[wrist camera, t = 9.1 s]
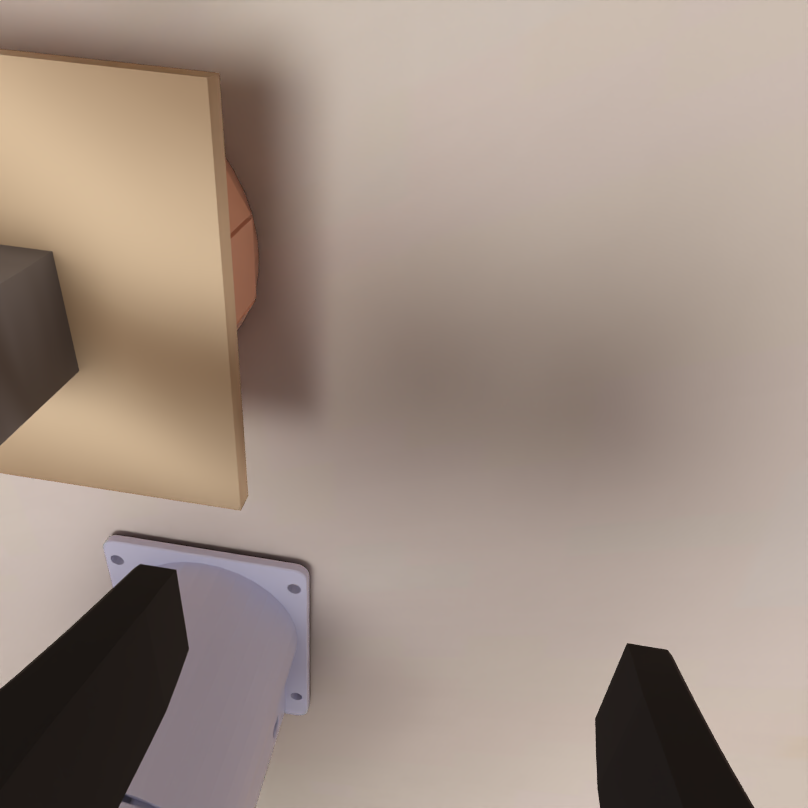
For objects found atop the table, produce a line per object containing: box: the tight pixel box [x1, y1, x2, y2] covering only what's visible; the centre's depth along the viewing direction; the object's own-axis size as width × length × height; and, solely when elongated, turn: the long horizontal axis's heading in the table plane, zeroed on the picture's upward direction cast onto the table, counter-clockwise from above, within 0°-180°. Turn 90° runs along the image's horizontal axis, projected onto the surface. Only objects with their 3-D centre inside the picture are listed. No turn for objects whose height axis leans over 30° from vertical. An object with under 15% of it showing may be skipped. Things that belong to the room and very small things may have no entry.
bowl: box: [225, 158, 259, 330], centre depth 17 cm, size 9×9×4 cm
